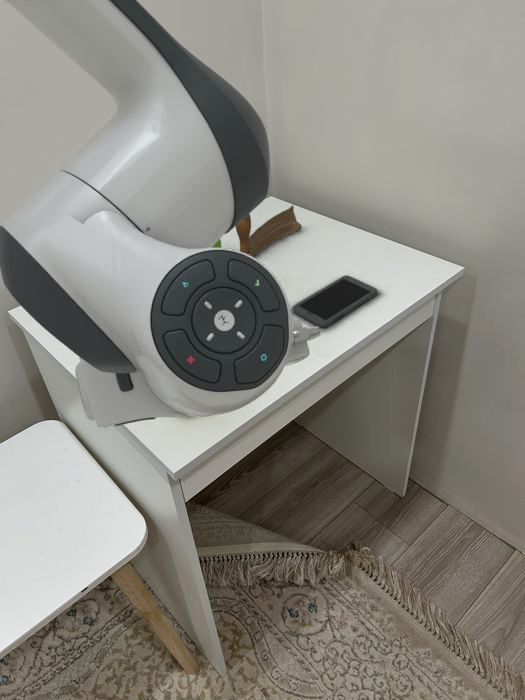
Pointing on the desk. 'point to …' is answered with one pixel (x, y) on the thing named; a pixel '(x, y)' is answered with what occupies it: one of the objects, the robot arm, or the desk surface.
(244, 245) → the hand bell
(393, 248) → the desk surface
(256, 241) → the wood plank
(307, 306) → the cell phone
